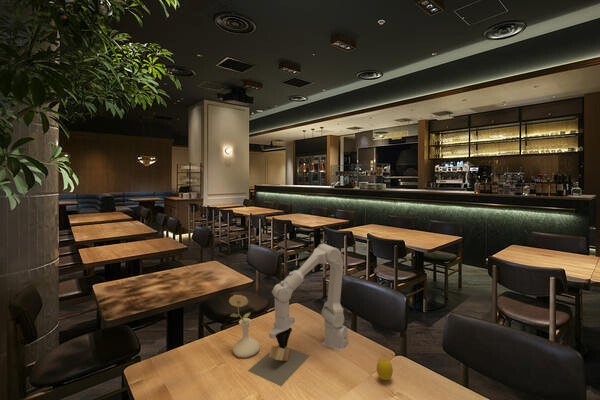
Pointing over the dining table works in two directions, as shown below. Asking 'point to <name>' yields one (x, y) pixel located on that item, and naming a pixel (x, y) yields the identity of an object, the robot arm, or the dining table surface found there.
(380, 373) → the lemon
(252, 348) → the flower in vase
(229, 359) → the dining table surface
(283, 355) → the maple block
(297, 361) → the rubber mat
